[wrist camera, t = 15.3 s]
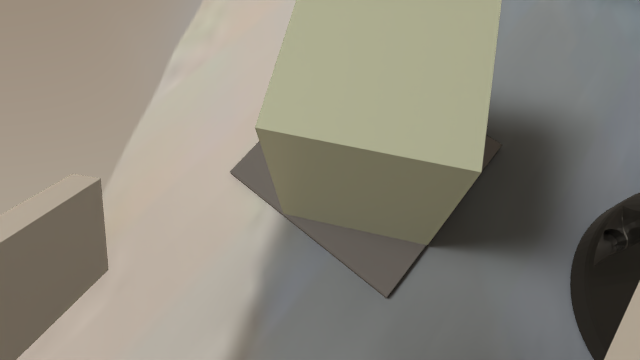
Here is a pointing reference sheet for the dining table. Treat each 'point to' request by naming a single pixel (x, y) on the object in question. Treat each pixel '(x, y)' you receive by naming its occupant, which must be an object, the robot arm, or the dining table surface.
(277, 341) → the dining table surface
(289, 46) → the sage green cube
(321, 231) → the mat
